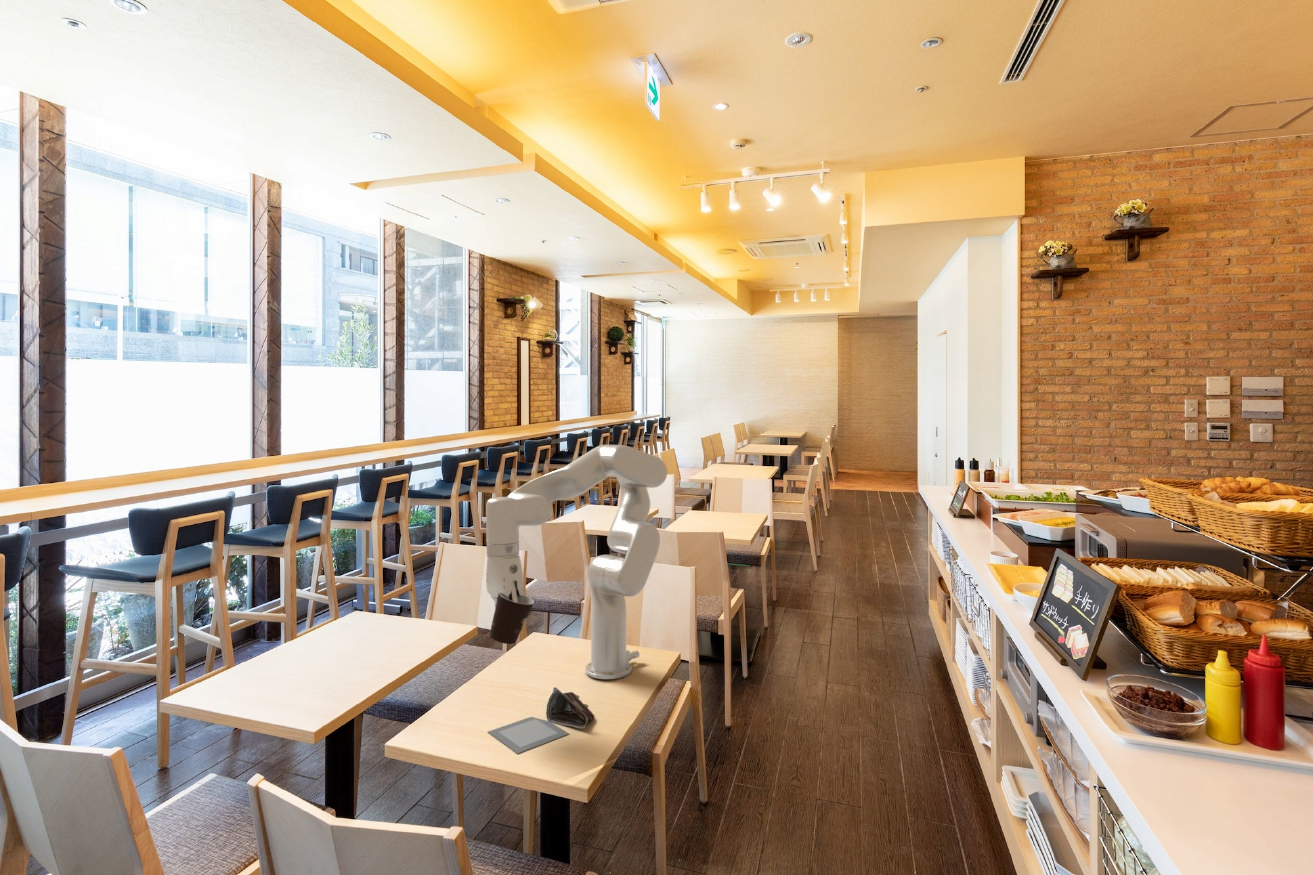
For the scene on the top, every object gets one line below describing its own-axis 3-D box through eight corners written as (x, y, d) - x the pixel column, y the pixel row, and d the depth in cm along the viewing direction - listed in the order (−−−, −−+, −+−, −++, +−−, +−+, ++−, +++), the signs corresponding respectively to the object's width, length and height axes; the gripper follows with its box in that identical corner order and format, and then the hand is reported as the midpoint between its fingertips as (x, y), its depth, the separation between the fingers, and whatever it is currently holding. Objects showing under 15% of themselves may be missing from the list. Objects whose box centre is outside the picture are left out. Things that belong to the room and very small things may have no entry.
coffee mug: (504, 648, 144) (519, 605, 144) (477, 632, 147) (491, 591, 148) (535, 642, 154) (548, 602, 154) (508, 627, 158) (521, 589, 158)
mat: (537, 714, 151) (537, 714, 151) (569, 734, 142) (569, 733, 142) (487, 732, 142) (487, 731, 142) (517, 754, 133) (517, 753, 133)
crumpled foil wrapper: (607, 718, 148) (582, 675, 154) (589, 722, 142) (564, 676, 148) (580, 744, 149) (557, 700, 156) (562, 749, 144) (538, 702, 150)
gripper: (533, 551, 148) (534, 629, 149) (501, 543, 159) (502, 616, 160) (504, 556, 143) (506, 637, 144) (473, 547, 154) (474, 622, 155)
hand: (504, 626), depth 152 cm, fingers closed
